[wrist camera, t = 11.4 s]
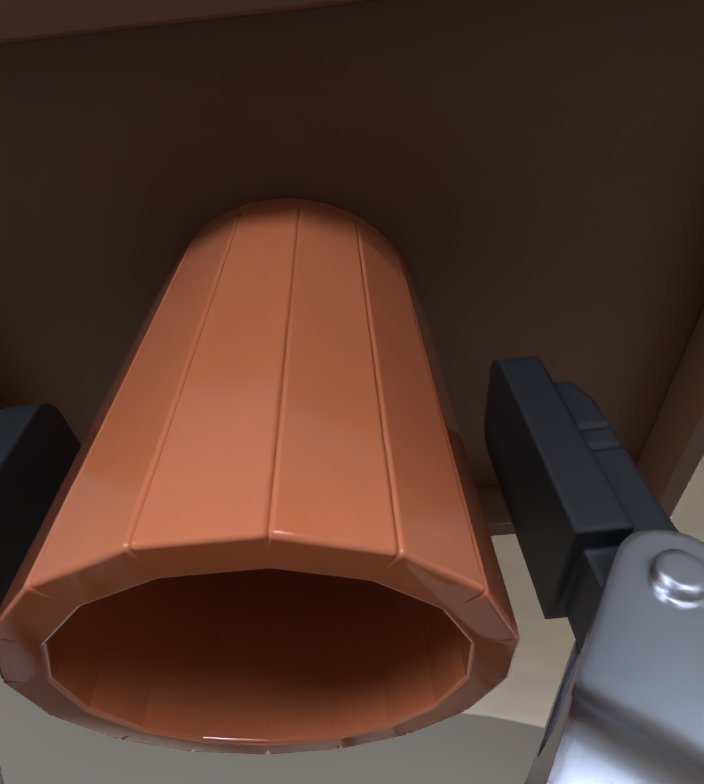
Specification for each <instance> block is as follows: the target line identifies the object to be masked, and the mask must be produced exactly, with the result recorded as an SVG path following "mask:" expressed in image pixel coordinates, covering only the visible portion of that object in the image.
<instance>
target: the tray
mask: <svg viewBox="0 0 704 784" xmlns="http://www.w3.org/2000/svg"><path fill="white" fill-rule="evenodd" d="M282 198H295V199H306V200H313V201H317V202H321V203H326V204H330V205H332V206H335V207H338V208H340V209H343V210H346V211H348V212H350V213H352V214H354V215H356V216H357V217H359V218H361V219H363V220H364V221H366V222H367V223H369V224H370V225H371V226H373V227H374V228H376V229H377V230H378V231H379V232H380V233H381V234H382V235H383V236H384V237H386V238H387V239H388V240H389V241H390V243H391V244H392V245H393V246H394V248H395V249H396V250H397V251H398V252H399V254H400V255H401V257H402V259H403V260H404V262H405V264H406V266H407V267H408V269H409V272H410V274H411V277H412V279H413V282H414V285H415V289H416V291H417V293H418V295H419V297H420V299H421V302H422V305H423V309H424V312H425V316H426V319H427V322H428V326H429V329H430V333H431V336H432V339H433V343H434V346H435V350H436V353H437V356H438V360H439V363H440V367H441V370H442V373H443V377H444V380H445V384H446V387H447V390H448V394H449V397H450V401H451V404H452V407H453V411H454V414H455V417H456V421H457V424H458V428H459V431H460V434H461V438H462V441H463V445H464V448H465V451H466V455H467V458H468V462H469V465H470V468H471V472H472V475H473V479H474V482H475V485H476V489H477V492H478V496H479V499H480V502H481V506H482V509H483V513H484V516H485V519H486V523H487V526H488V529H489V533H490V536H494V535H506V534H516V533H515V530H514V527H513V524H512V521H511V518H510V515H509V513H508V510H507V507H506V504H505V501H504V498H503V495H502V492H501V489H500V486H499V483H498V481H497V478H496V475H495V472H494V469H493V466H492V463H491V460H490V457H489V454H488V451H487V447H486V441H485V433H484V419H485V410H486V402H487V393H488V385H489V376H490V369H491V364H492V362H493V360H496V359H506V358H516V357H526V356H538V357H539V358H540V359H541V361H542V362H543V364H544V366H545V368H546V370H547V371H548V373H549V375H550V377H551V379H552V380H553V382H554V383H555V382H565V381H571V382H572V383H573V384H575V385H576V386H577V387H578V388H580V389H581V390H582V391H584V392H585V393H586V394H588V395H589V396H590V397H592V398H593V399H594V400H595V401H596V403H597V405H598V406H599V408H600V409H601V411H602V413H603V414H604V416H605V417H606V419H607V421H608V422H609V427H612V428H613V430H614V432H615V433H616V435H617V436H618V438H619V440H620V441H621V447H624V448H625V449H626V451H627V452H628V454H629V455H630V457H631V459H632V460H633V462H634V463H635V465H636V467H637V468H638V470H639V471H640V473H641V474H642V476H643V478H644V479H645V481H646V482H647V484H648V486H649V487H650V489H651V490H652V492H653V494H654V495H655V497H656V498H657V500H658V501H659V503H660V505H661V506H662V508H663V509H664V511H665V513H666V514H667V516H668V517H669V518H670V516H671V514H672V512H673V511H674V509H675V507H676V505H677V503H678V501H679V499H680V498H681V496H682V494H683V492H684V490H685V488H686V486H687V485H688V483H689V481H690V479H691V477H692V475H693V473H694V472H695V470H696V468H697V466H698V464H699V462H700V460H701V459H702V457H703V455H704V0H0V410H1V409H2V408H5V407H11V406H22V405H32V404H42V403H50V404H53V405H54V406H56V407H57V408H58V410H59V411H60V412H61V414H62V415H63V417H64V418H65V420H66V422H67V423H68V425H69V426H70V428H71V429H72V431H73V433H74V434H75V436H76V437H77V439H78V440H79V442H80V444H81V445H82V444H83V442H84V440H85V438H86V436H87V434H88V432H89V430H90V428H91V426H92V424H93V422H94V420H95V418H96V416H97V414H98V412H99V410H100V408H101V406H102V404H103V402H104V400H105V398H106V396H107V394H108V392H109V390H110V388H111V386H112V384H113V382H114V380H115V378H116V376H117V374H118V372H119V370H120V368H121V366H122V364H123V362H124V360H125V358H126V356H127V354H128V352H129V350H130V349H131V347H132V345H133V343H134V341H135V339H136V337H137V335H138V333H139V331H140V329H141V327H142V325H143V323H144V321H145V319H146V317H147V315H148V313H149V311H150V309H151V307H152V305H153V303H154V301H155V299H156V297H157V295H158V293H159V291H160V289H161V287H162V285H163V283H164V281H165V279H166V278H167V276H168V275H169V273H170V272H171V270H172V269H173V267H174V266H175V264H176V262H177V260H178V258H179V256H180V254H181V252H182V251H183V249H184V248H185V246H186V245H187V244H188V243H189V241H190V240H191V239H192V237H193V236H194V235H195V234H197V233H198V232H199V231H200V230H201V229H202V228H203V227H204V226H205V225H207V224H208V223H209V222H211V221H212V220H214V219H215V218H217V217H218V216H220V215H222V214H224V213H226V212H228V211H230V210H232V209H234V208H237V207H240V206H243V205H246V204H249V203H252V202H257V201H263V200H268V199H282Z"/></svg>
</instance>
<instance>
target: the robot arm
mask: <svg viewBox="0 0 704 784" xmlns="http://www.w3.org/2000/svg"><path fill="white" fill-rule="evenodd" d="M484 433H485V441H486V447H487V451H488V454H489V457H490V460H491V463H492V466H493V469H494V472H495V475H496V478H497V481H498V483H499V486H500V489H501V492H502V495H503V498H504V501H505V504H506V507H507V510H508V513H509V515H510V518H511V521H512V524H513V527H514V530H515V533H516V536H517V539H518V542H519V544H520V547H521V550H522V553H523V556H524V559H525V562H526V565H527V568H528V571H529V574H530V576H531V579H532V582H533V585H534V588H535V591H536V594H537V597H538V600H539V603H540V605H541V608H542V611H543V614H544V617H545V619H552V618H563V617H568V620H569V623H570V625H571V628H572V631H573V633H574V636H575V638H576V640H575V642H574V644H573V647H572V650H571V653H570V656H569V659H568V662H567V665H566V668H565V671H564V674H563V676H562V679H561V682H560V685H559V688H558V691H557V694H556V697H555V700H554V703H553V705H552V708H551V711H550V714H549V717H548V720H547V723H546V726H545V729H544V732H543V735H542V738H541V740H540V744H539V746H538V749H537V752H536V755H535V758H534V760H533V763H532V766H531V768H530V771H529V773H528V776H527V778H526V781H525V783H524V784H704V543H703V542H701V541H700V540H698V539H696V538H693V537H691V536H689V535H686V534H683V533H680V532H679V531H678V530H677V529H676V528H675V526H674V525H673V523H672V522H671V521H670V519H669V517H668V516H667V514H666V513H665V511H664V509H663V508H662V506H661V505H660V503H659V501H658V500H657V498H656V497H655V495H654V494H653V492H652V490H651V489H650V487H649V486H648V484H647V482H646V481H645V479H644V478H643V476H642V474H641V473H640V471H639V470H638V468H637V467H636V465H635V463H634V462H633V460H632V459H631V457H630V455H629V454H628V452H627V451H626V449H625V448H624V447H621V441H620V440H619V438H618V436H617V435H616V433H615V432H614V430H613V428H612V427H609V422H608V421H607V419H606V417H605V416H604V414H603V413H602V411H601V409H600V408H599V406H598V405H597V403H596V401H595V400H594V399H593V398H592V397H590V396H589V395H588V394H586V393H585V392H584V391H582V390H581V389H580V388H578V387H577V386H576V385H575V384H573V383H572V382H571V381H565V382H555V383H554V382H553V380H552V379H551V377H550V375H549V373H548V371H547V370H546V368H545V366H544V364H543V362H542V361H541V359H540V358H539V357H538V356H526V357H516V358H506V359H496V360H493V362H492V364H491V369H490V376H489V385H488V393H487V402H486V410H485V419H484ZM81 446H82V445H81V444H80V442H79V440H78V439H77V437H76V436H75V434H74V433H73V431H72V429H71V428H70V426H69V425H68V423H67V422H66V420H65V418H64V417H63V415H62V414H61V412H60V411H59V410H58V408H57V407H56V406H54V405H53V404H50V403H42V404H32V405H22V406H11V407H5V408H2V409H1V410H0V606H1V604H2V602H3V600H4V598H5V596H6V594H7V592H8V590H9V588H10V586H11V584H12V582H13V580H14V578H15V576H16V574H17V572H18V570H19V569H20V567H21V565H22V563H23V561H24V559H25V557H26V555H27V553H28V551H29V549H30V547H31V545H32V543H33V541H34V539H35V537H36V535H37V533H38V531H39V529H40V527H41V525H42V523H43V521H44V519H45V517H46V515H47V513H48V511H49V509H50V507H51V505H52V503H53V501H54V499H55V497H56V495H57V493H58V491H59V489H60V487H61V485H62V483H63V481H64V479H65V477H66V475H67V473H68V471H69V469H70V467H71V465H72V463H73V461H74V460H75V458H76V456H77V454H78V452H79V450H80V448H81ZM0 784H4V781H3V777H2V772H1V768H0Z"/></svg>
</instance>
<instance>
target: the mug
mask: <svg viewBox="0 0 704 784" xmlns="http://www.w3.org/2000/svg"><path fill="white" fill-rule="evenodd" d="M519 636H520V635H519V632H518V628H517V625H516V621H515V618H514V614H513V611H512V608H511V604H510V601H509V597H508V594H507V591H506V587H505V584H504V580H503V577H502V574H501V570H500V567H499V563H498V560H497V557H496V553H495V550H494V546H493V543H492V540H491V536H490V533H489V529H488V526H487V523H486V519H485V516H484V513H483V509H482V506H481V502H480V499H479V496H478V492H477V489H476V485H475V482H474V479H473V475H472V472H471V468H470V465H469V462H468V458H467V455H466V451H465V448H464V445H463V441H462V438H461V434H460V431H459V428H458V424H457V421H456V417H455V414H454V411H453V407H452V404H451V401H450V397H449V394H448V390H447V387H446V384H445V380H444V377H443V373H442V370H441V367H440V363H439V360H438V356H437V353H436V350H435V346H434V343H433V339H432V336H431V333H430V329H429V326H428V322H427V319H426V316H425V312H424V309H423V305H422V302H421V299H420V297H419V295H418V293H417V291H416V289H415V285H414V282H413V279H412V277H411V274H410V272H409V269H408V267H407V266H406V264H405V262H404V260H403V259H402V257H401V255H400V254H399V252H398V251H397V250H396V249H395V248H394V246H393V245H392V244H391V243H390V241H389V240H388V239H387V238H386V237H384V236H383V235H382V234H381V233H380V232H379V231H378V230H377V229H376V228H374V227H373V226H371V225H370V224H369V223H367V222H366V221H364V220H363V219H361V218H359V217H357V216H356V215H354V214H352V213H350V212H348V211H346V210H343V209H340V208H338V207H335V206H332V205H330V204H326V203H321V202H317V201H313V200H306V199H295V198H282V199H268V200H263V201H257V202H252V203H249V204H246V205H243V206H240V207H237V208H234V209H232V210H230V211H228V212H226V213H224V214H222V215H220V216H218V217H217V218H215V219H214V220H212V221H211V222H209V223H208V224H207V225H205V226H204V227H203V228H202V229H201V230H200V231H199V232H198V233H197V234H195V235H194V236H193V237H192V239H191V240H190V241H189V243H188V244H187V245H186V246H185V248H184V249H183V251H182V252H181V254H180V256H179V258H178V260H177V262H176V264H175V266H174V267H173V269H172V270H171V272H170V273H169V275H168V276H167V278H166V279H165V281H164V283H163V285H162V287H161V289H160V291H159V293H158V295H157V297H156V299H155V301H154V303H153V305H152V307H151V309H150V311H149V313H148V315H147V317H146V319H145V321H144V323H143V325H142V327H141V329H140V331H139V333H138V335H137V337H136V339H135V341H134V343H133V345H132V347H131V349H130V350H129V352H128V354H127V356H126V358H125V360H124V362H123V364H122V366H121V368H120V370H119V372H118V374H117V376H116V378H115V380H114V382H113V384H112V386H111V388H110V390H109V392H108V394H107V396H106V398H105V400H104V402H103V404H102V406H101V408H100V410H99V412H98V414H97V416H96V418H95V420H94V422H93V424H92V426H91V428H90V430H89V432H88V434H87V436H86V438H85V440H84V442H83V444H82V446H81V448H80V450H79V452H78V454H77V456H76V458H75V460H74V461H73V463H72V465H71V467H70V469H69V471H68V473H67V475H66V477H65V479H64V481H63V483H62V485H61V487H60V489H59V491H58V493H57V495H56V497H55V499H54V501H53V503H52V505H51V507H50V509H49V511H48V513H47V515H46V517H45V519H44V521H43V523H42V525H41V527H40V529H39V531H38V533H37V535H36V537H35V539H34V541H33V543H32V545H31V547H30V549H29V551H28V553H27V555H26V557H25V559H24V561H23V563H22V565H21V567H20V569H19V570H18V572H17V574H16V576H15V578H14V580H13V582H12V584H11V586H10V588H9V590H8V592H7V594H6V596H5V598H4V600H3V602H2V604H1V606H0V674H1V677H2V679H4V683H6V684H7V685H9V686H10V687H11V688H13V689H14V690H16V691H17V692H18V693H20V694H21V695H23V696H24V697H25V698H27V699H28V700H30V701H31V702H32V703H34V704H35V705H37V706H38V707H39V708H41V709H42V710H44V711H45V712H47V713H48V714H50V715H54V716H55V717H57V718H60V719H63V720H66V721H68V722H71V723H74V724H77V725H80V726H83V727H86V728H89V729H91V730H94V731H97V732H100V733H103V734H106V735H109V736H112V737H114V738H121V739H123V740H127V741H133V742H139V743H145V744H151V745H157V746H163V747H169V748H174V749H180V750H186V751H191V750H195V751H197V752H217V753H218V752H220V753H244V754H266V753H270V754H279V753H292V752H303V751H317V750H328V749H338V748H339V747H342V748H346V747H350V746H355V745H360V744H364V743H369V742H374V741H378V740H383V739H388V738H393V737H397V736H402V735H405V734H407V733H412V732H414V731H417V730H419V729H422V728H424V727H427V726H429V725H432V724H434V723H437V722H439V721H442V720H444V719H447V718H449V717H452V716H454V715H457V714H459V713H461V712H464V710H467V709H469V708H470V707H471V706H473V705H474V704H475V703H476V702H478V701H479V700H480V699H481V698H483V697H484V696H485V695H486V694H488V693H489V692H490V691H491V690H493V689H494V688H495V687H496V686H498V685H499V684H500V683H501V682H502V681H504V680H505V678H507V677H508V676H509V673H510V669H511V666H512V662H513V659H514V655H515V652H516V648H517V645H518V641H519Z"/></svg>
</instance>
